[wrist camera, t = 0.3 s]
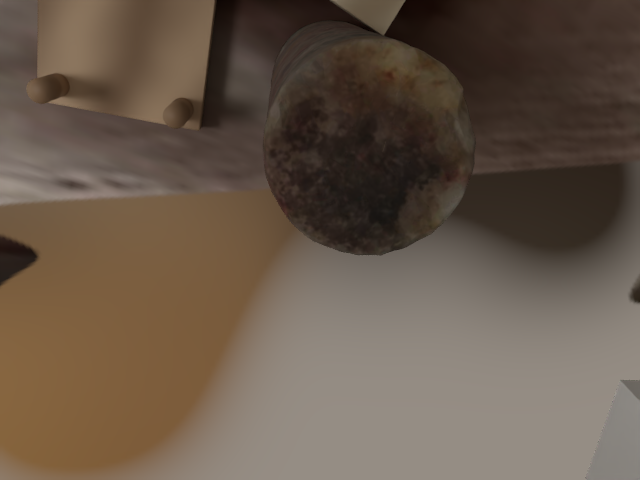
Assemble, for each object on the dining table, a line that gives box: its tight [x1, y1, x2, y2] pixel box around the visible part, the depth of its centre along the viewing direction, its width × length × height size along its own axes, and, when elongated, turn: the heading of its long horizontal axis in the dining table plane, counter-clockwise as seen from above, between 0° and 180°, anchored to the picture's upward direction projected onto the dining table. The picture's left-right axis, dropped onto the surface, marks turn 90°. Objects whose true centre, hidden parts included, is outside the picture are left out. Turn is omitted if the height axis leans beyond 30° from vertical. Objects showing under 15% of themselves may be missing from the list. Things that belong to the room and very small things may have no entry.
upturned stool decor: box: [27, 0, 217, 131], centre depth 31 cm, size 10×10×4 cm
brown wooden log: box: [263, 20, 476, 255], centre depth 26 cm, size 8×7×20 cm
